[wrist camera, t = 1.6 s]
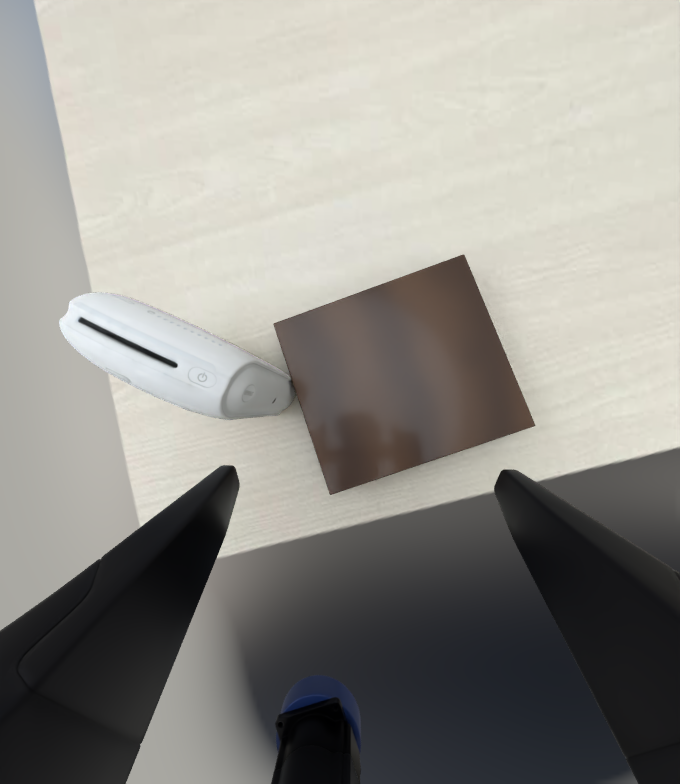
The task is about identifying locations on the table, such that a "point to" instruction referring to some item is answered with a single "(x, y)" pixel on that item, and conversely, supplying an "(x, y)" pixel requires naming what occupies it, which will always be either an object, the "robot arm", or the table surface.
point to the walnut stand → (401, 375)
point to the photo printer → (174, 358)
